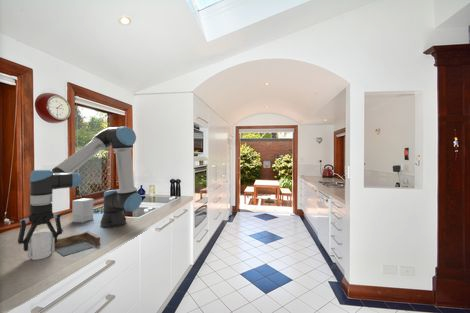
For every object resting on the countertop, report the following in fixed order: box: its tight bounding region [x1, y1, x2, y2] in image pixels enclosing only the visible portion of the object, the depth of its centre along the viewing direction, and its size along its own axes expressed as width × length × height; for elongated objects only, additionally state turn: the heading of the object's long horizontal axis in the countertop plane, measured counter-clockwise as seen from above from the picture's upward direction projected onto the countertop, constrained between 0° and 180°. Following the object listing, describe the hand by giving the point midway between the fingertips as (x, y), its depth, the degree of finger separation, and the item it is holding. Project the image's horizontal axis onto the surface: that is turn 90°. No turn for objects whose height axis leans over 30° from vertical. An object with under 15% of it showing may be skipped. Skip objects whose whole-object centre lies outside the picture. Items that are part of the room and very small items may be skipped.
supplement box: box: [71, 198, 94, 223], centre depth 151 cm, size 9×9×15 cm
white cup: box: [29, 232, 53, 261], centre depth 97 cm, size 8×8×10 cm
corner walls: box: [54, 230, 101, 250], centre depth 107 cm, size 16×14×4 cm
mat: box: [54, 240, 93, 257], centre depth 105 cm, size 12×12×1 cm
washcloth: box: [23, 226, 64, 240], centre depth 121 cm, size 12×18×3 cm, turn 11°
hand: (40, 253), depth 97 cm, fingers closed on white cup, 7 cm apart
